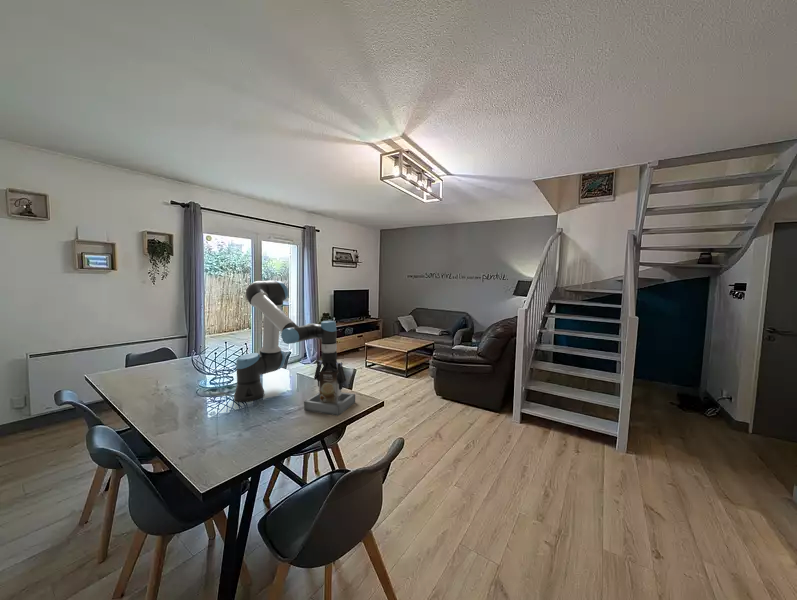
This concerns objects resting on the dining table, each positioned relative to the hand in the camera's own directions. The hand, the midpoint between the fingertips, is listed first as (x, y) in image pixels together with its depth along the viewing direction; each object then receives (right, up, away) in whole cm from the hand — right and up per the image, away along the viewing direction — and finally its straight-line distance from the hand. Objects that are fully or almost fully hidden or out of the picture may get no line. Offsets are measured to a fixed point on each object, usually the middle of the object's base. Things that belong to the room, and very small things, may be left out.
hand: (330, 394), depth 156 cm
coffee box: (0, -4, 0) cm, 4 cm away
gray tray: (0, -6, 0) cm, 6 cm away
